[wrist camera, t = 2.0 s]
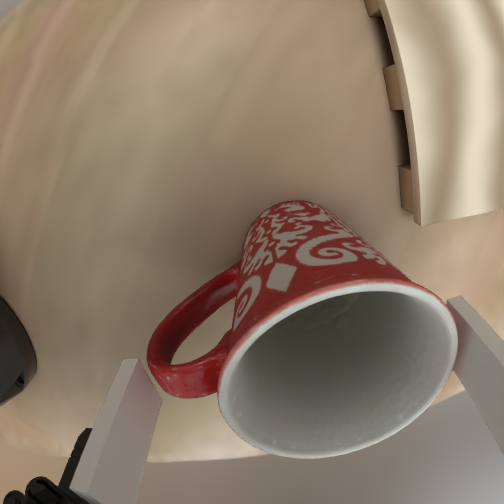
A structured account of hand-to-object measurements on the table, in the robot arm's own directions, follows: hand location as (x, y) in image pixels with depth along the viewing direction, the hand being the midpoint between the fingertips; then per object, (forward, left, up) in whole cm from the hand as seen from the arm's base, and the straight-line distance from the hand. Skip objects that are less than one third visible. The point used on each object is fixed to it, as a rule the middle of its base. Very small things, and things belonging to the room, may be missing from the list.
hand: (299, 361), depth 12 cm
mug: (0, 0, -11) cm, 11 cm away
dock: (+19, +10, -11) cm, 24 cm away
